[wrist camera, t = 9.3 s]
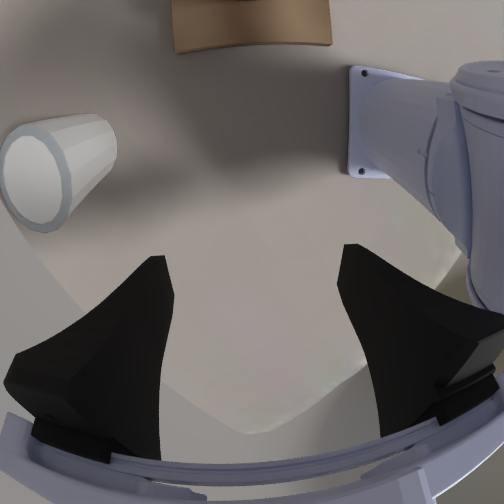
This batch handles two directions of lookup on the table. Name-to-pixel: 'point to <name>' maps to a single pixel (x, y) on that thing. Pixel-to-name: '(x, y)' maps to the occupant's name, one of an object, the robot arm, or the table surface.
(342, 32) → the table surface
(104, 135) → the white cup
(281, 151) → the table surface
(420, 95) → the robot arm
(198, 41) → the walnut board
